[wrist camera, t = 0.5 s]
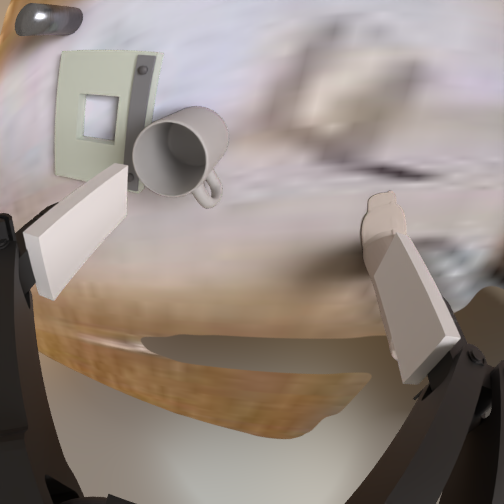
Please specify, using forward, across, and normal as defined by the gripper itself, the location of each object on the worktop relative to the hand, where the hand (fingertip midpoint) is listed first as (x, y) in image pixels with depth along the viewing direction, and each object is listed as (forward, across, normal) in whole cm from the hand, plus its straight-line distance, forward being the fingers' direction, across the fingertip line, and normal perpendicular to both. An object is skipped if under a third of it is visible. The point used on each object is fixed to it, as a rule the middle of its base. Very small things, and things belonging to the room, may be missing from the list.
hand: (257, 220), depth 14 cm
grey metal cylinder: (+27, -33, +12) cm, 44 cm away
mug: (+27, -9, -5) cm, 29 cm away
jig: (+26, -25, -3) cm, 36 cm away
